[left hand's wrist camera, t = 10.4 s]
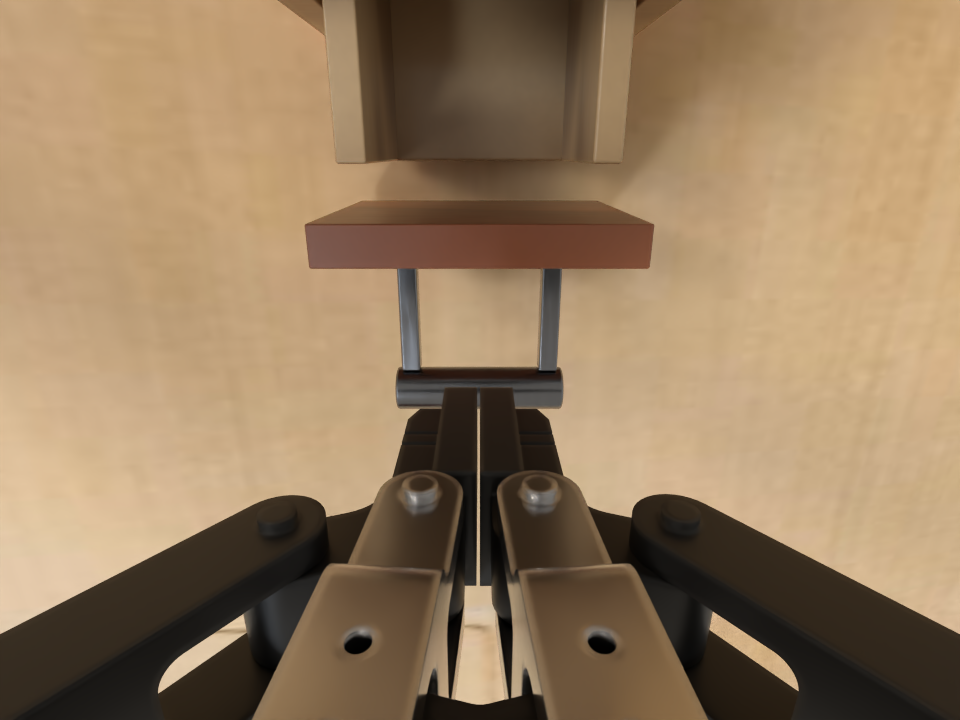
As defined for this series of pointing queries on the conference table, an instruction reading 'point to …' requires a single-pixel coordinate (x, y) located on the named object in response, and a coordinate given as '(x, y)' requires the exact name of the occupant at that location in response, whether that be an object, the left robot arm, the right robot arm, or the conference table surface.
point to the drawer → (479, 155)
